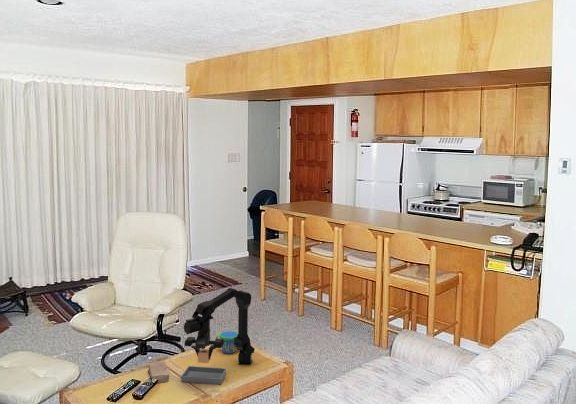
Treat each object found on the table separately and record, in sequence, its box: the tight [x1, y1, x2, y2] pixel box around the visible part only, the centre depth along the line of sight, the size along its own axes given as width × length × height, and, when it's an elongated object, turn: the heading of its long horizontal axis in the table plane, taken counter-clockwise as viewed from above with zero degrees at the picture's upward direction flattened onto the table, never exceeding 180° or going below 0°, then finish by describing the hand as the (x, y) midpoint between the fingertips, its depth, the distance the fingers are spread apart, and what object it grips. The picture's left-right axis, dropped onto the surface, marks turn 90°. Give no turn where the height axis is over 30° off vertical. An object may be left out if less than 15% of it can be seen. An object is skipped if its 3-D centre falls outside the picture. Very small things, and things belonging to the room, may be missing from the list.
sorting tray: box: [180, 365, 227, 386], centre depth 263 cm, size 20×12×3 cm, turn 84°
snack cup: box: [215, 330, 238, 354], centre depth 296 cm, size 16×10×10 cm
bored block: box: [197, 348, 211, 364], centre depth 262 cm, size 5×5×5 cm
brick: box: [148, 360, 170, 384], centre depth 265 cm, size 17×8×5 cm, turn 21°
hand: (204, 358), depth 262 cm, fingers closed on bored block, 5 cm apart
